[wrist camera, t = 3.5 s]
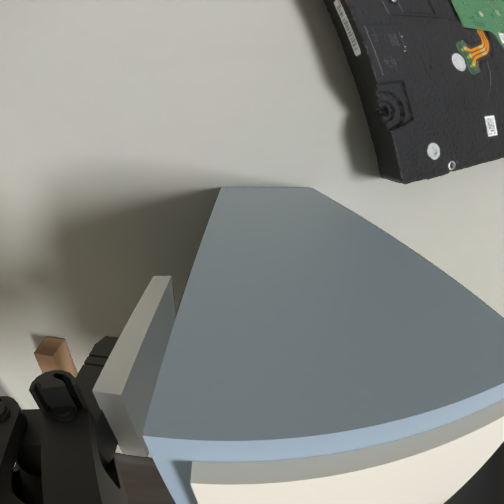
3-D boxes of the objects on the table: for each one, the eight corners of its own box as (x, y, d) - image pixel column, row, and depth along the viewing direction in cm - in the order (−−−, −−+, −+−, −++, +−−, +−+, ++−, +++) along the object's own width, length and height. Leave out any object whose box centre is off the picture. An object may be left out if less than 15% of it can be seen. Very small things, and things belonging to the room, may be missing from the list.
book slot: (46, 336, 15) (-33, 450, 6) (180, 348, 16) (146, 519, 6) (107, 458, 20) (83, 546, 10) (204, 470, 20) (200, 570, 11)
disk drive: (376, 182, 14) (534, 140, 13) (404, 191, 11) (561, 144, 10) (311, -7, 10) (495, 5, 9) (325, -33, 8) (519, -3, 7)
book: (221, 187, 13) (137, 459, 1) (312, 187, 13) (558, 367, 2) (226, 355, 16) (225, 581, 4) (298, 353, 16) (355, 566, 5)
